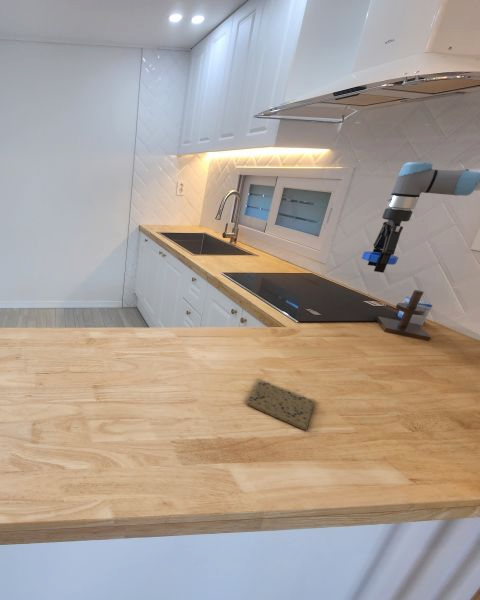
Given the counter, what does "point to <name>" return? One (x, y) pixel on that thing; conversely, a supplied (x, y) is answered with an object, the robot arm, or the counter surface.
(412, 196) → the robot arm
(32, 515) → the counter surface
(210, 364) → the counter surface
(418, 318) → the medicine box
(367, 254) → the blue plastic ring
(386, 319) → the stand
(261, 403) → the cookie
